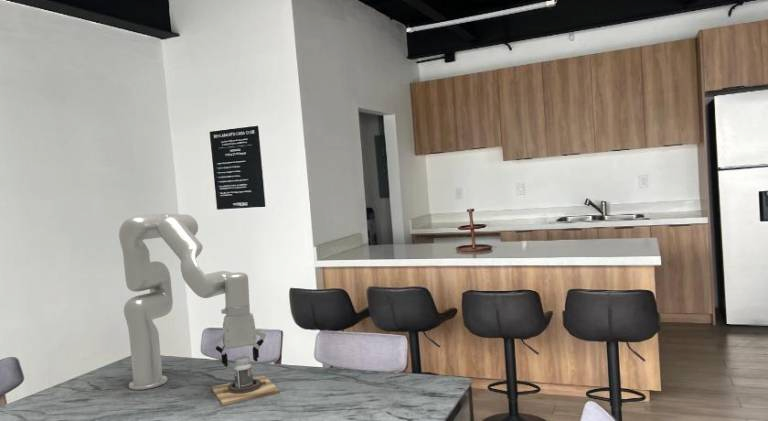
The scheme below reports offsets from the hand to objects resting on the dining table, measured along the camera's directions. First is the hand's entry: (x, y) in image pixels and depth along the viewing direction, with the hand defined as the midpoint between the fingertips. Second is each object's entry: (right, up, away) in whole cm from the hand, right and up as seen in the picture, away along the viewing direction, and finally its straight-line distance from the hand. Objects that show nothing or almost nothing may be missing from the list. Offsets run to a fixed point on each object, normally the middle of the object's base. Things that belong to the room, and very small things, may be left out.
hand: (240, 362), depth 188 cm
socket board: (+1, -9, 0) cm, 9 cm away
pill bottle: (+1, -8, 0) cm, 9 cm away
